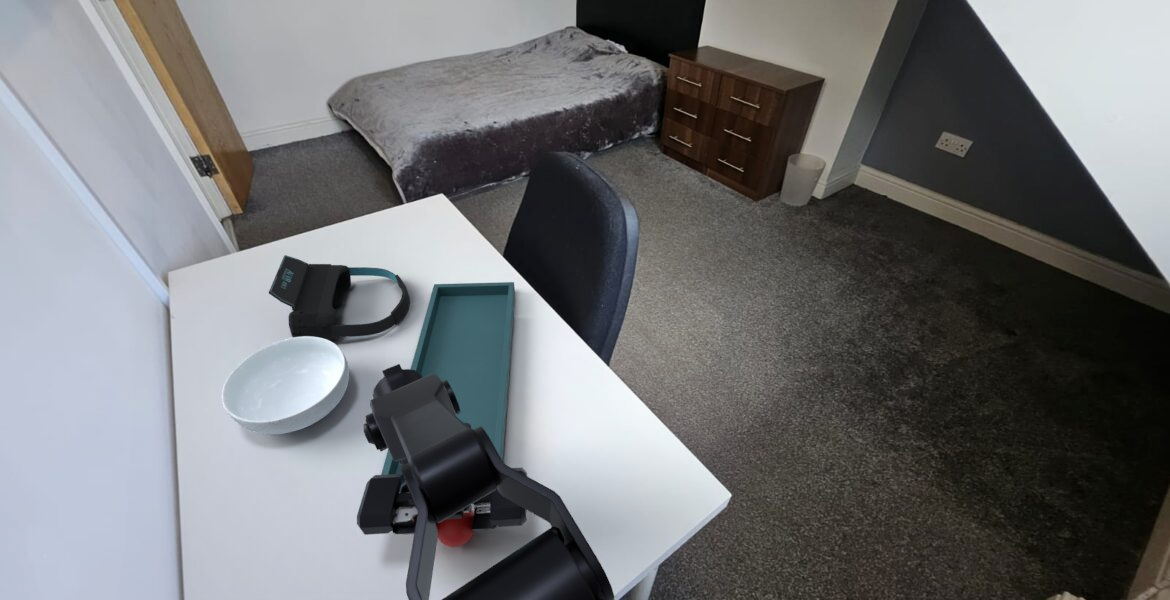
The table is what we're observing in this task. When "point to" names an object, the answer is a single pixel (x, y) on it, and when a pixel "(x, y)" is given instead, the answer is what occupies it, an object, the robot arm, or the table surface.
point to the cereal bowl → (286, 385)
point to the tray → (469, 353)
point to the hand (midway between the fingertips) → (458, 529)
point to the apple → (456, 530)
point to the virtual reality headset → (327, 298)
